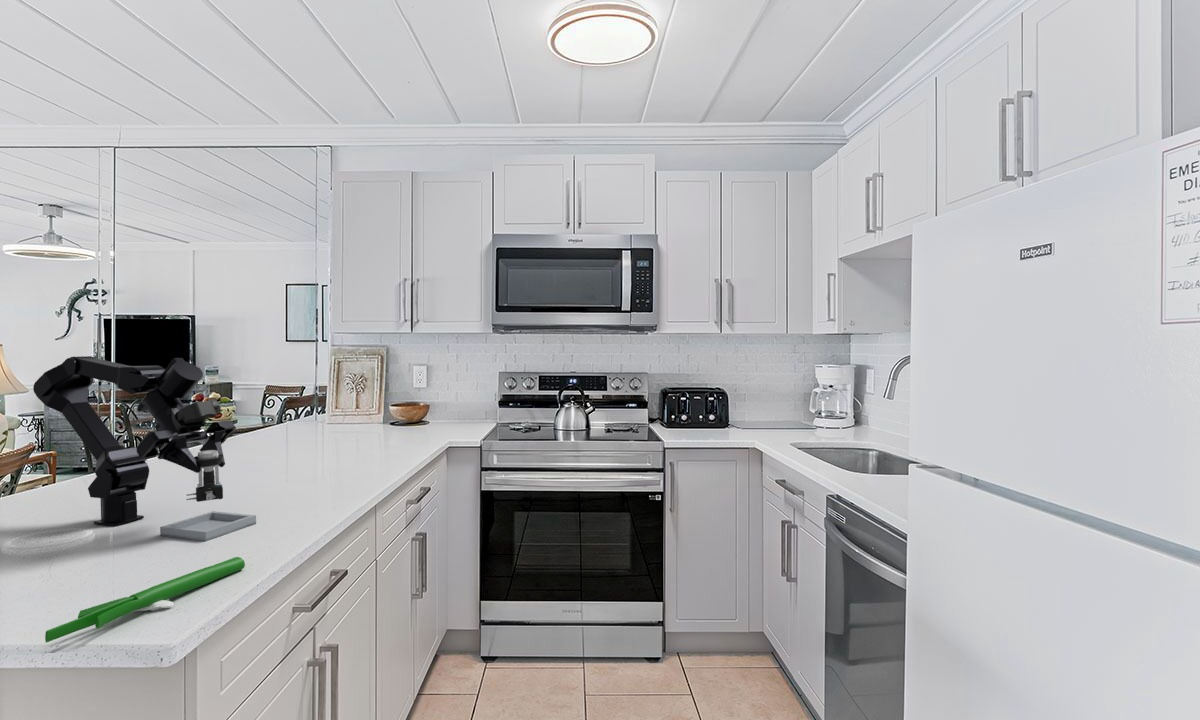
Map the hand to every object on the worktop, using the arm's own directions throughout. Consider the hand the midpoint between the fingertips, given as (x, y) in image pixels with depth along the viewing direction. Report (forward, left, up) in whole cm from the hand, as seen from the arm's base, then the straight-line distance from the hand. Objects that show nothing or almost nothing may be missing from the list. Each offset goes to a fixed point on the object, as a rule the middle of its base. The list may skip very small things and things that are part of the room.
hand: (211, 468), depth 126 cm
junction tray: (-1, +1, -13) cm, 13 cm away
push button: (-2, 0, -7) cm, 7 cm away
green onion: (+25, -30, -13) cm, 41 cm away
